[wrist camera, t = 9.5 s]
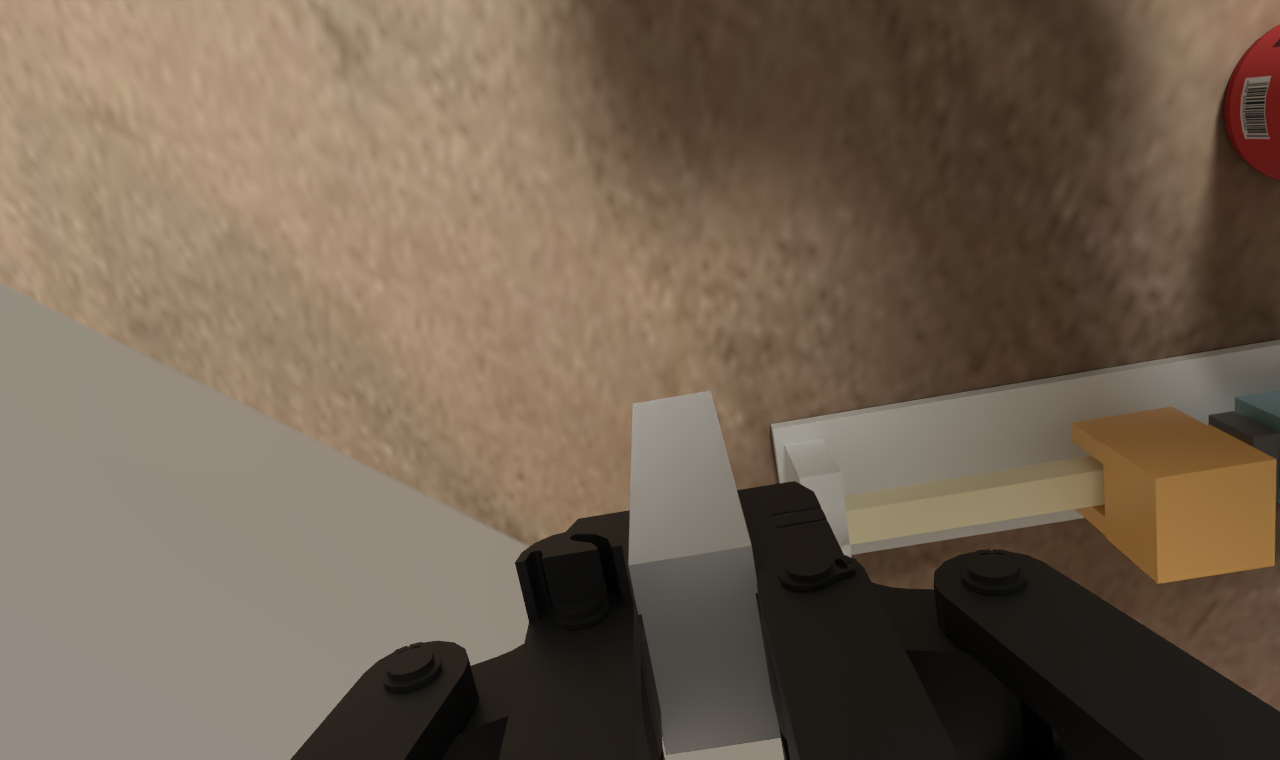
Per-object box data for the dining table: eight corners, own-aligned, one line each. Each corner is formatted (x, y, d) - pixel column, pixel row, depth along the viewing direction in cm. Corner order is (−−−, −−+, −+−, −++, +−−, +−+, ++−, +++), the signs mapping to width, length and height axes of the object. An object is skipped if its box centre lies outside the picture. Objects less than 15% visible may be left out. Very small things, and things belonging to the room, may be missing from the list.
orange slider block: (1070, 420, 45) (1155, 478, 38) (1171, 404, 45) (1276, 459, 37) (1075, 511, 46) (1157, 583, 39) (1172, 495, 46) (1274, 565, 39)
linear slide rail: (770, 424, 48) (791, 470, 41) (1322, 332, 47) (1433, 365, 40) (789, 557, 50) (812, 622, 44) (1318, 473, 49) (1423, 527, 42)
